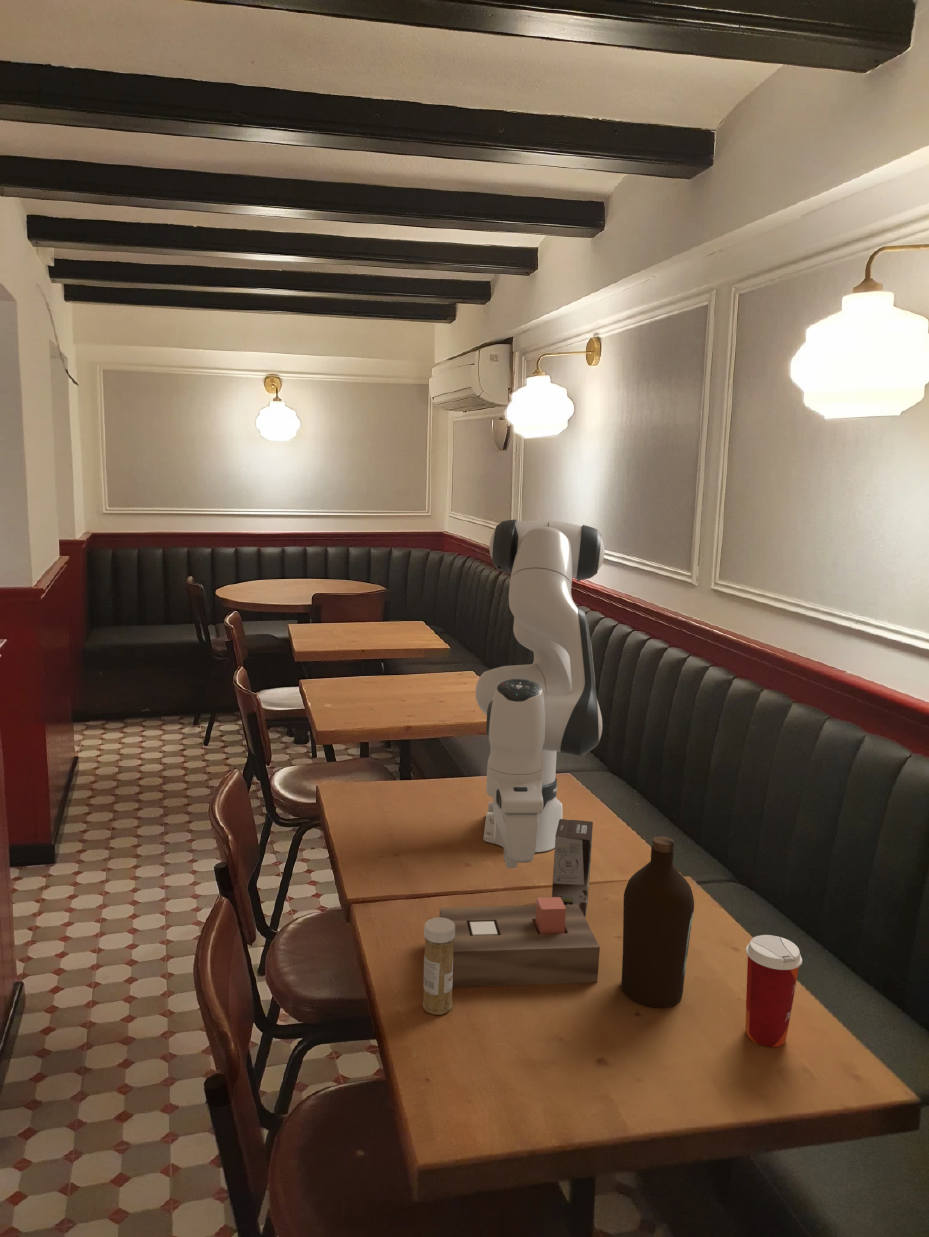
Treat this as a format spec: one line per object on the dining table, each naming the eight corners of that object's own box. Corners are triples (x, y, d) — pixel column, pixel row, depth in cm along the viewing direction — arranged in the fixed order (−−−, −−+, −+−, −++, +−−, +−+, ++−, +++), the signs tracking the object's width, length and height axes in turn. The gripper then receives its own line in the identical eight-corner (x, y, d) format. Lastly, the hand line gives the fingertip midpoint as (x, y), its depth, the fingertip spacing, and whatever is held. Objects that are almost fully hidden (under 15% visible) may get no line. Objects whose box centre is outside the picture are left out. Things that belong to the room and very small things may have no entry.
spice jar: (457, 1012, 135) (460, 928, 133) (428, 1018, 133) (431, 933, 131) (444, 995, 139) (447, 913, 137) (417, 1001, 137) (419, 919, 135)
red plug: (534, 930, 151) (536, 897, 150) (558, 929, 152) (560, 896, 151) (539, 942, 147) (541, 909, 146) (563, 941, 148) (565, 908, 147)
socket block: (438, 940, 155) (439, 907, 154) (576, 936, 158) (578, 904, 157) (446, 987, 141) (448, 951, 140) (597, 981, 144) (599, 946, 143)
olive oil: (627, 1011, 137) (638, 855, 133) (610, 972, 147) (620, 826, 143) (696, 1010, 138) (709, 855, 133) (674, 971, 148) (686, 826, 144)
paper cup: (804, 1047, 130) (814, 957, 127) (758, 1055, 128) (767, 963, 125) (771, 1015, 137) (780, 929, 135) (727, 1022, 135) (735, 935, 133)
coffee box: (585, 925, 162) (590, 840, 159) (549, 920, 163) (554, 836, 160) (589, 902, 171) (594, 820, 168) (554, 897, 172) (559, 816, 169)
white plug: (468, 954, 151) (469, 921, 150) (492, 953, 151) (493, 921, 150) (471, 967, 147) (472, 934, 146) (496, 966, 147) (497, 933, 146)
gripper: (486, 760, 154) (483, 837, 157) (503, 806, 134) (499, 894, 137) (523, 760, 155) (519, 837, 157) (545, 806, 135) (540, 893, 137)
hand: (510, 864), depth 147 cm, fingers closed
